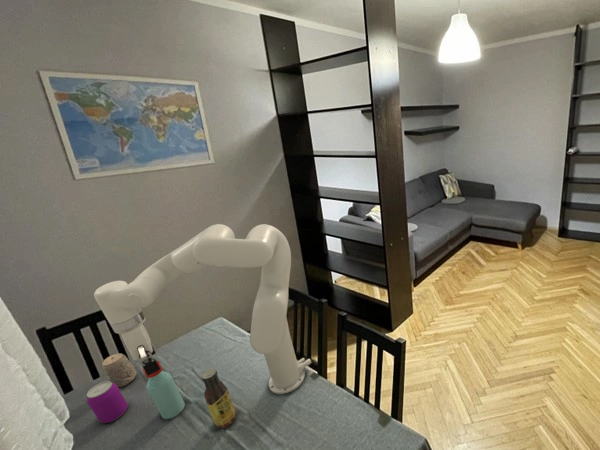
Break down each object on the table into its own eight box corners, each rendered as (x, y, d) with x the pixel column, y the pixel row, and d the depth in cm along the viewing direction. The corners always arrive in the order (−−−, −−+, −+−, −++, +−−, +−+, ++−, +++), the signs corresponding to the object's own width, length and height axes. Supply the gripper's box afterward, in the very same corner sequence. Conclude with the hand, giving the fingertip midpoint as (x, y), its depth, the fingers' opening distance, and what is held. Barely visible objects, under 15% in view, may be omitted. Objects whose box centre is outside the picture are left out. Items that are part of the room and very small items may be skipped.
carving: (110, 387, 118) (95, 363, 113) (131, 372, 124) (119, 348, 120) (119, 392, 115) (105, 368, 111) (141, 376, 122) (129, 352, 117)
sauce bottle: (228, 431, 98) (208, 385, 90) (211, 428, 99) (190, 382, 92) (241, 411, 104) (224, 367, 96) (225, 409, 105) (206, 365, 98)
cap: (147, 380, 97) (143, 373, 96) (145, 372, 100) (142, 366, 99) (163, 372, 100) (160, 365, 99) (161, 365, 103) (158, 358, 102)
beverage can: (96, 429, 102) (79, 403, 98) (104, 410, 109) (88, 385, 104) (125, 417, 105) (110, 392, 101) (131, 400, 112) (117, 375, 107)
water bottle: (182, 397, 111) (162, 356, 103) (186, 409, 106) (165, 366, 99) (160, 410, 107) (137, 368, 99) (163, 423, 102) (140, 379, 95)
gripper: (110, 315, 96) (134, 357, 102) (113, 341, 84) (140, 387, 90) (140, 303, 100) (161, 344, 107) (147, 326, 88) (170, 371, 95)
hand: (151, 363), depth 99 cm, fingers open, 9 cm apart
